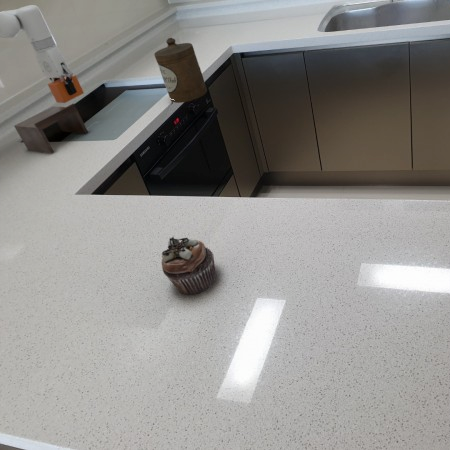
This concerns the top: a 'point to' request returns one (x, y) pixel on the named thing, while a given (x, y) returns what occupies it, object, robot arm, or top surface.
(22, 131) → the shelf
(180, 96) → the wooden container
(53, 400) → the top surface
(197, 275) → the cupcake
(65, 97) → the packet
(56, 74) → the robot arm
